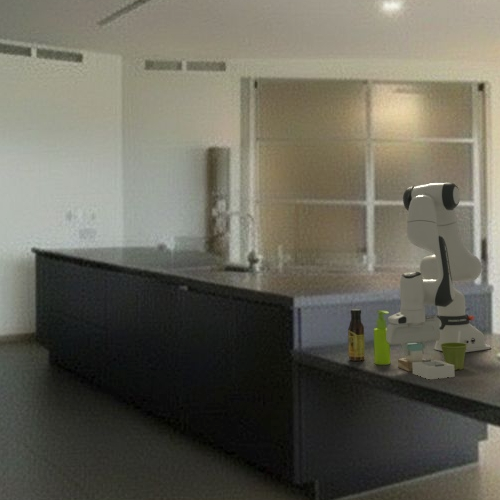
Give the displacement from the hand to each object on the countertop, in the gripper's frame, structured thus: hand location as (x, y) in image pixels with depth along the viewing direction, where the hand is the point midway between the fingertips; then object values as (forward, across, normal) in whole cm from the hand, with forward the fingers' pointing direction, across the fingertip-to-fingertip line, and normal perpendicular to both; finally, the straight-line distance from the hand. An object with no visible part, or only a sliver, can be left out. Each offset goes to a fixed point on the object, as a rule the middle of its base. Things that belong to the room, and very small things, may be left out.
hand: (414, 354), depth 274 cm
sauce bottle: (+5, +12, -24) cm, 27 cm away
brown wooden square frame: (+5, 0, 0) cm, 5 cm away
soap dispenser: (+5, +6, -13) cm, 15 cm away
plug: (+4, 0, 0) cm, 4 cm away
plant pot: (+5, -12, +7) cm, 15 cm away
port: (+5, 0, +14) cm, 15 cm away
